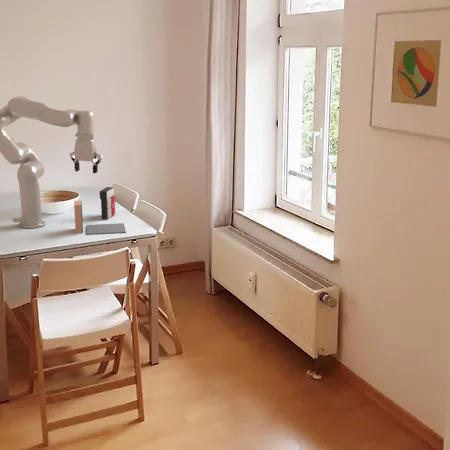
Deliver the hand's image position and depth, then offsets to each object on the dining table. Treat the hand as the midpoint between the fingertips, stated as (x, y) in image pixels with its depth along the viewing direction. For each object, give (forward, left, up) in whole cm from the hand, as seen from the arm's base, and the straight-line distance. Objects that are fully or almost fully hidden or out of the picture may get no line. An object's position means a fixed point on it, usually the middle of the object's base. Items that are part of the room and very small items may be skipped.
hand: (86, 172), depth 316 cm
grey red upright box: (+10, +18, -28) cm, 35 cm away
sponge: (-5, -6, -28) cm, 29 cm away
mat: (+8, -6, -28) cm, 30 cm away
